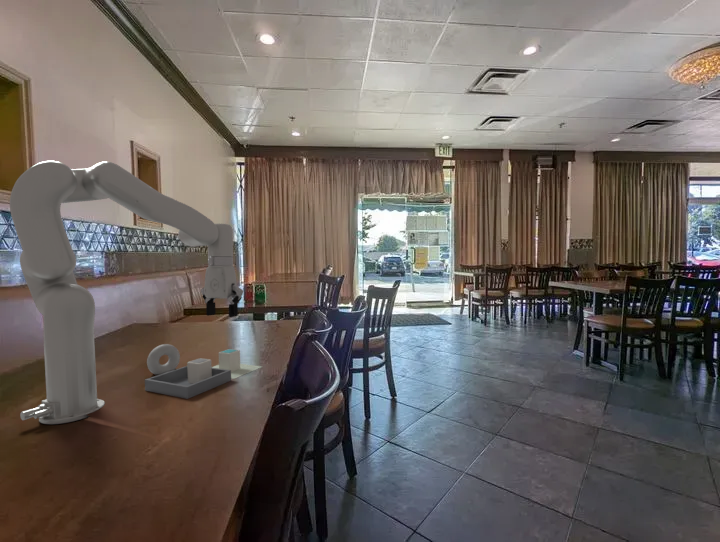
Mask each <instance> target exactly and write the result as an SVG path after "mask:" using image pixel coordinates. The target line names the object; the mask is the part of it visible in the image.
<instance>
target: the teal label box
mask: <svg viewBox="0 0 720 542" xmlns="http://www.w3.org/2000/svg"><path fill="white" fill-rule="evenodd" d="M240 364H241V351H240V350H239V349H232V348H231V349H230V348H228V349H225V350H222V351H219V352H218V365H219V369H225V370H231V372H233V371H235V370H238V369H240Z"/></svg>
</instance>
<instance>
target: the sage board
mask: <svg viewBox="0 0 720 542" xmlns="http://www.w3.org/2000/svg"><path fill="white" fill-rule="evenodd" d="M212 368H218V369H219V364H216V365H214V366H212ZM261 368H262V366H261V365H253V364H245V363H240V369H238V370H235V371H233V372H231V380H235V379H236V378H237V379H238V378H240V377H242V376H244V375H248V373H251V372H254V371H256V370H260V369H261Z"/></svg>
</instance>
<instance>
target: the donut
mask: <svg viewBox="0 0 720 542" xmlns="http://www.w3.org/2000/svg"><path fill="white" fill-rule="evenodd" d="M165 355H166V356H167V357H168V361H167V362H166V363H164V364H161V363H160V358H161V357H163V356H165ZM180 360H181V355H180V351H179V350H178V348H177V347H176V346H174V345H173V344H169V343H164V344H160V345H158V346H156V347H154V348H153V349H152V350H151V351H150V352H149V354H148V356H147V359H146V364H147V369H148V370H149V372H150V373H152V374H153V375H155V376H157V375H160V374H163V373H167V372H170V371H173V370H176V369H177V367H178V365H179V363H180Z"/></svg>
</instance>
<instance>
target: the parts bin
mask: <svg viewBox="0 0 720 542" xmlns="http://www.w3.org/2000/svg"><path fill="white" fill-rule="evenodd" d="M231 381H232V379H231V370H225V369H218V368H212V377H209V378H207V379H204V380H202V381H199V382H196V383H194V384H193V383H188V370H187V365H186V366H185V365H184V366H183V367H179V368H175V370H173V371H170V372H167V373H163V374H158V375H155V376H152V377H149V378H146V379H144V390H145V392H151V393H156V394H160V395H165V396H171V397H176V398H180V399H181V398H182V399H186V400H188V399H191V398H193V397H196V396H198V395H200V394H202V393H205V392H207V391H210V390H212V389H215V388H217V387H219V386H223V384H226V383H229V382H231Z"/></svg>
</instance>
